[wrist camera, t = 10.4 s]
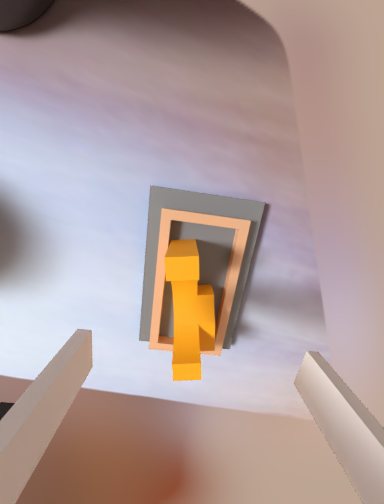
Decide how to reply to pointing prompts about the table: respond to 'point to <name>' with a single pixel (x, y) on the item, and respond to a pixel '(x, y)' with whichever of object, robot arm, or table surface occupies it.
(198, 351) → the pipe clamp
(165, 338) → the holder board
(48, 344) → the table surface
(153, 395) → the table surface
